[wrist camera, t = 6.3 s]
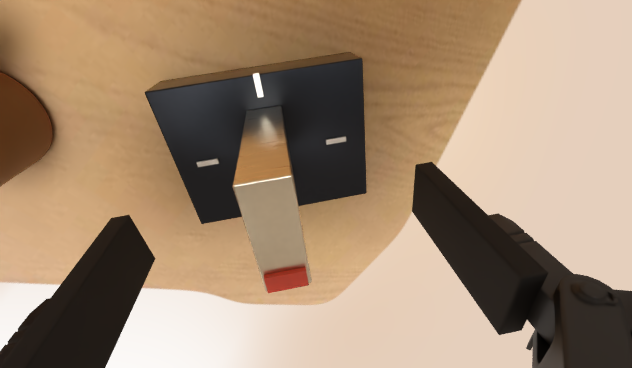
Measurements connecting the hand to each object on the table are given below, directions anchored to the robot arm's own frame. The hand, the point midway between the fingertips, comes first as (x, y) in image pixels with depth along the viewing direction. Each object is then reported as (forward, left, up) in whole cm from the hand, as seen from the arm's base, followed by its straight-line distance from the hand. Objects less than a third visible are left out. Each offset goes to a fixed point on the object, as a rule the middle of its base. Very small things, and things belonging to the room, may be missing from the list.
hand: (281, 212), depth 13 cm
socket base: (0, 0, -10) cm, 10 cm away
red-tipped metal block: (0, 0, -7) cm, 7 cm away
